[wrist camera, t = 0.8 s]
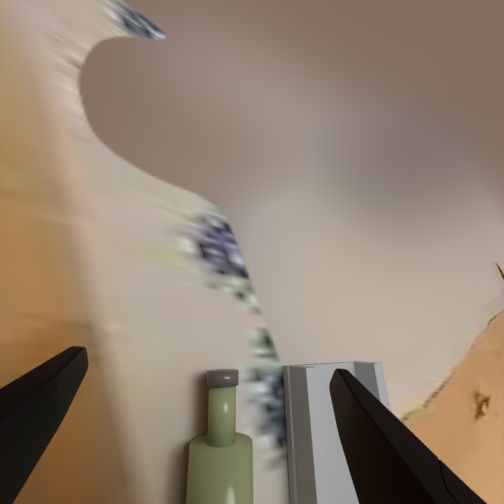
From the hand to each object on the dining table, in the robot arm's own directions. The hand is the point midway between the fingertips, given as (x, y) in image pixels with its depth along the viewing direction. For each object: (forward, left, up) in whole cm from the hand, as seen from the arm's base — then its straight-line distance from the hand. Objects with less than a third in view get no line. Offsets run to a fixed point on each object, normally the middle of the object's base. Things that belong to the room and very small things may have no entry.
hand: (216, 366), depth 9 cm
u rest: (-8, -16, -13) cm, 22 cm away
